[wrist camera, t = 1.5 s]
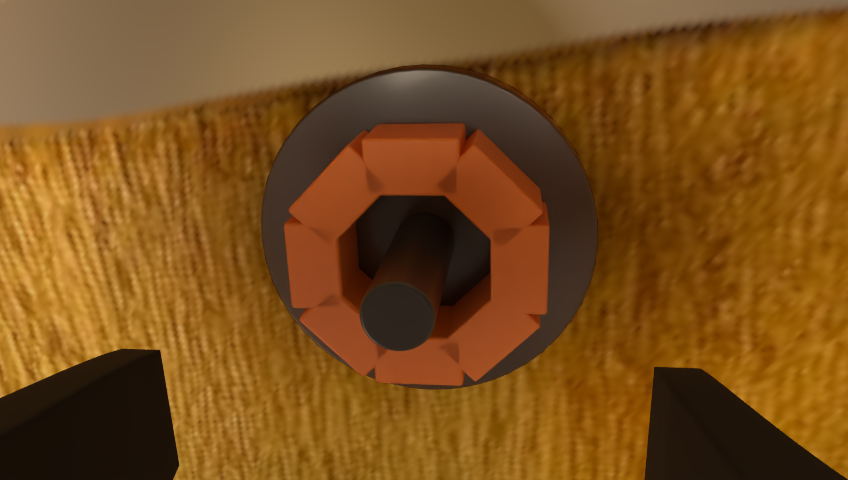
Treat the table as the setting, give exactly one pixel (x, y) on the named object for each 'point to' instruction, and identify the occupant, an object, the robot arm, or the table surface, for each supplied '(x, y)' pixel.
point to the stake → (436, 207)
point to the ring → (422, 176)
